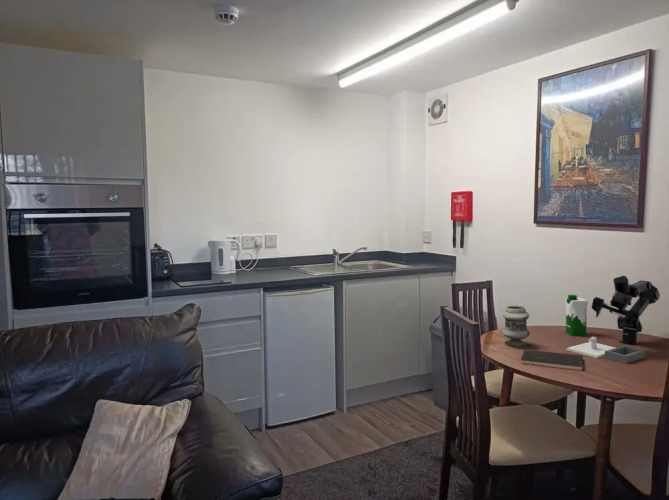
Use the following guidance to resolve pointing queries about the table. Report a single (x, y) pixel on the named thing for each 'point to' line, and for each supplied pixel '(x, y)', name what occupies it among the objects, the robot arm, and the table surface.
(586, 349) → the hook board
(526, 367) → the table surface
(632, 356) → the grey rectangular frame
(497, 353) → the table surface
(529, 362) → the hardcover book
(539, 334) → the table surface
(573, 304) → the milk carton
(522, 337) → the apothecary jar
